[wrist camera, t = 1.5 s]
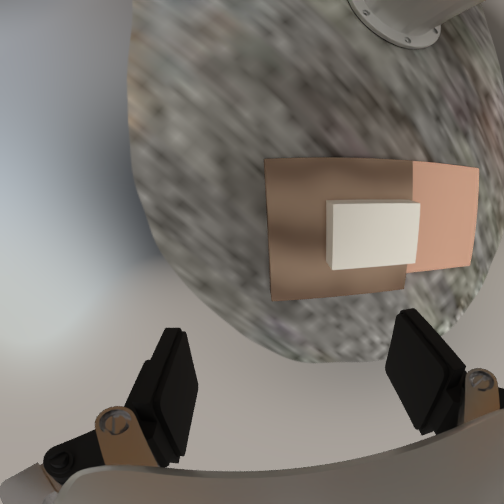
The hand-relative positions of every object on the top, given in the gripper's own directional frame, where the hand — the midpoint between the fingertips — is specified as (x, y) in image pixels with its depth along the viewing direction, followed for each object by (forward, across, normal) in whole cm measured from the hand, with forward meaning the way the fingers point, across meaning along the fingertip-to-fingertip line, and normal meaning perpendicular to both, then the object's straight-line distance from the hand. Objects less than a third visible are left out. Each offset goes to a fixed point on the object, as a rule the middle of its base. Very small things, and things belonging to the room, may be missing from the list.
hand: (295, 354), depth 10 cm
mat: (+20, -21, 0) cm, 29 cm away
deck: (+20, -7, 0) cm, 21 cm away
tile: (+17, -10, 0) cm, 20 cm away
